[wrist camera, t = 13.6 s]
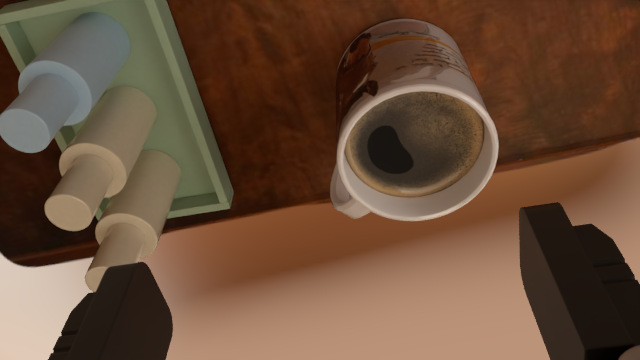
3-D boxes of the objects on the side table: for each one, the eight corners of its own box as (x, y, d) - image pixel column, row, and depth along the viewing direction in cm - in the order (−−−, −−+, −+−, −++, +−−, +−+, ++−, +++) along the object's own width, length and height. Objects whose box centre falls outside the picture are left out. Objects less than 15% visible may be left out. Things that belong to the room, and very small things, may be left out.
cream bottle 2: (120, 154, 49) (60, 262, 38) (171, 145, 48) (125, 252, 37) (140, 196, 51) (89, 310, 40) (188, 188, 50) (150, 301, 40)
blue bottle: (58, 18, 42) (-35, 102, 31) (116, 6, 42) (42, 88, 31) (84, 74, 45) (6, 170, 34) (139, 64, 44) (78, 158, 33)
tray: (5, 4, 42) (-11, 16, 40) (157, -28, 41) (148, -17, 39) (110, 211, 53) (102, 228, 51) (234, 192, 51) (230, 208, 49)
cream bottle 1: (90, 90, 45) (16, 190, 35) (145, 80, 45) (86, 178, 34) (113, 139, 48) (50, 246, 37) (165, 130, 47) (116, 236, 37)
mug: (478, 123, 47) (513, 208, 38) (334, 164, 50) (335, 253, 40) (449, -2, 42) (483, 63, 32) (289, 51, 44) (278, 125, 35)
